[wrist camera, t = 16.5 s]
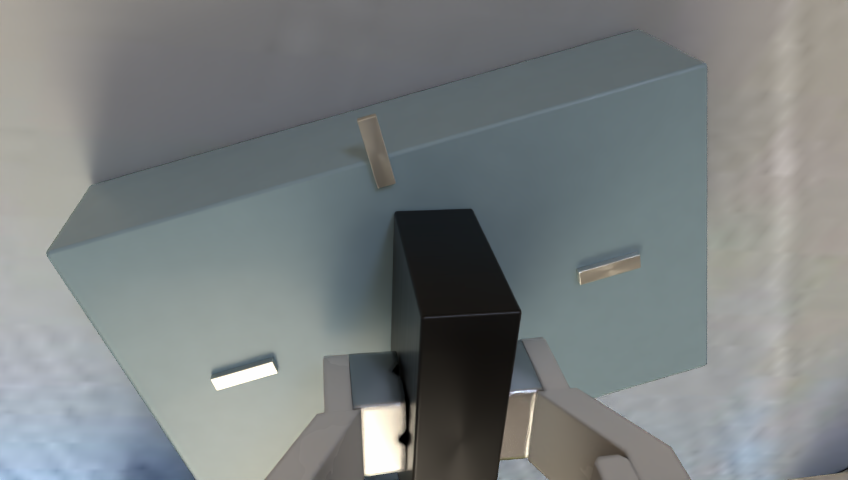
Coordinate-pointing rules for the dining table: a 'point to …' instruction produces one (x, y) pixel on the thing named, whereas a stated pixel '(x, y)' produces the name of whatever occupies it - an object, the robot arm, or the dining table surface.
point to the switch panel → (373, 241)
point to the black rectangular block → (451, 344)
